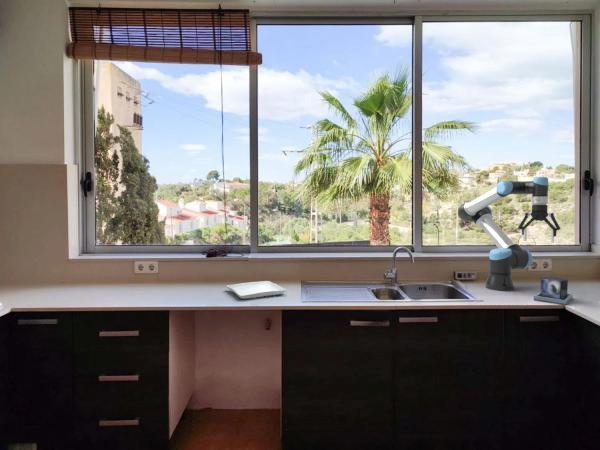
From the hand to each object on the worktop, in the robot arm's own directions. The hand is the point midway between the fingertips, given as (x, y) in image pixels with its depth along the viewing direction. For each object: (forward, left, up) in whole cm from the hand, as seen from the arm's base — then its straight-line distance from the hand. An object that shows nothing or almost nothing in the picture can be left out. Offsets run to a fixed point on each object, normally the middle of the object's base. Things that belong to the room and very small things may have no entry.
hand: (538, 241), depth 216 cm
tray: (+11, -15, -29) cm, 34 cm away
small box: (+11, -15, -28) cm, 34 cm away
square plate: (-115, -114, -29) cm, 165 cm away
